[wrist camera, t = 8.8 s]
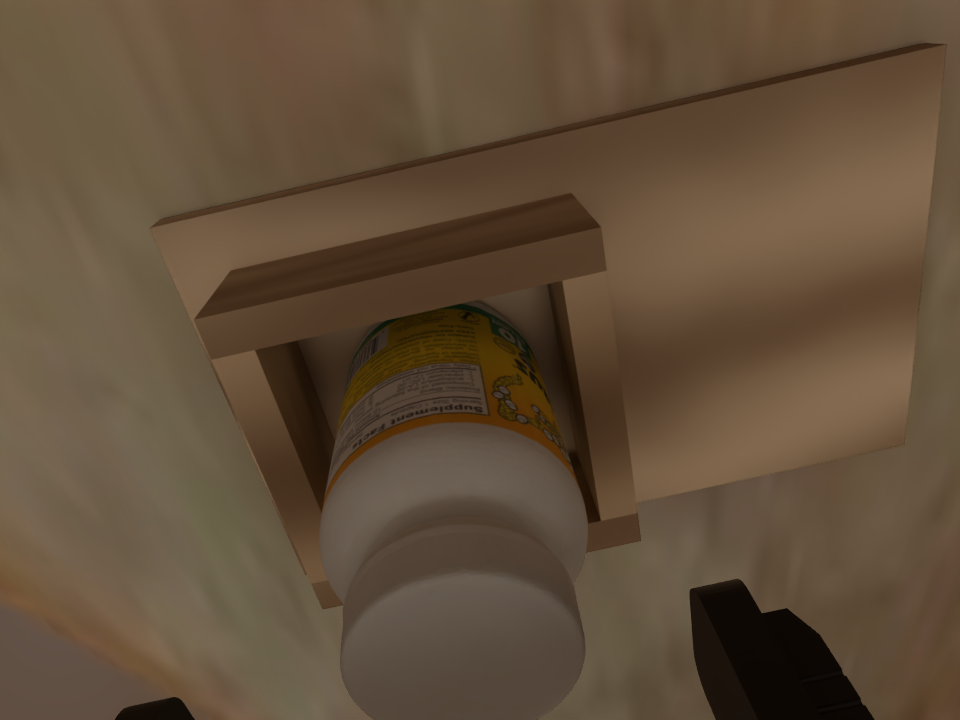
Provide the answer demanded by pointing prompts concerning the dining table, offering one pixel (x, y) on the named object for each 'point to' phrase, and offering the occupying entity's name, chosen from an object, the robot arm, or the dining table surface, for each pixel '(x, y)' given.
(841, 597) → the dining table surface
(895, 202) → the wooden stand
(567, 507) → the supplement bottle
